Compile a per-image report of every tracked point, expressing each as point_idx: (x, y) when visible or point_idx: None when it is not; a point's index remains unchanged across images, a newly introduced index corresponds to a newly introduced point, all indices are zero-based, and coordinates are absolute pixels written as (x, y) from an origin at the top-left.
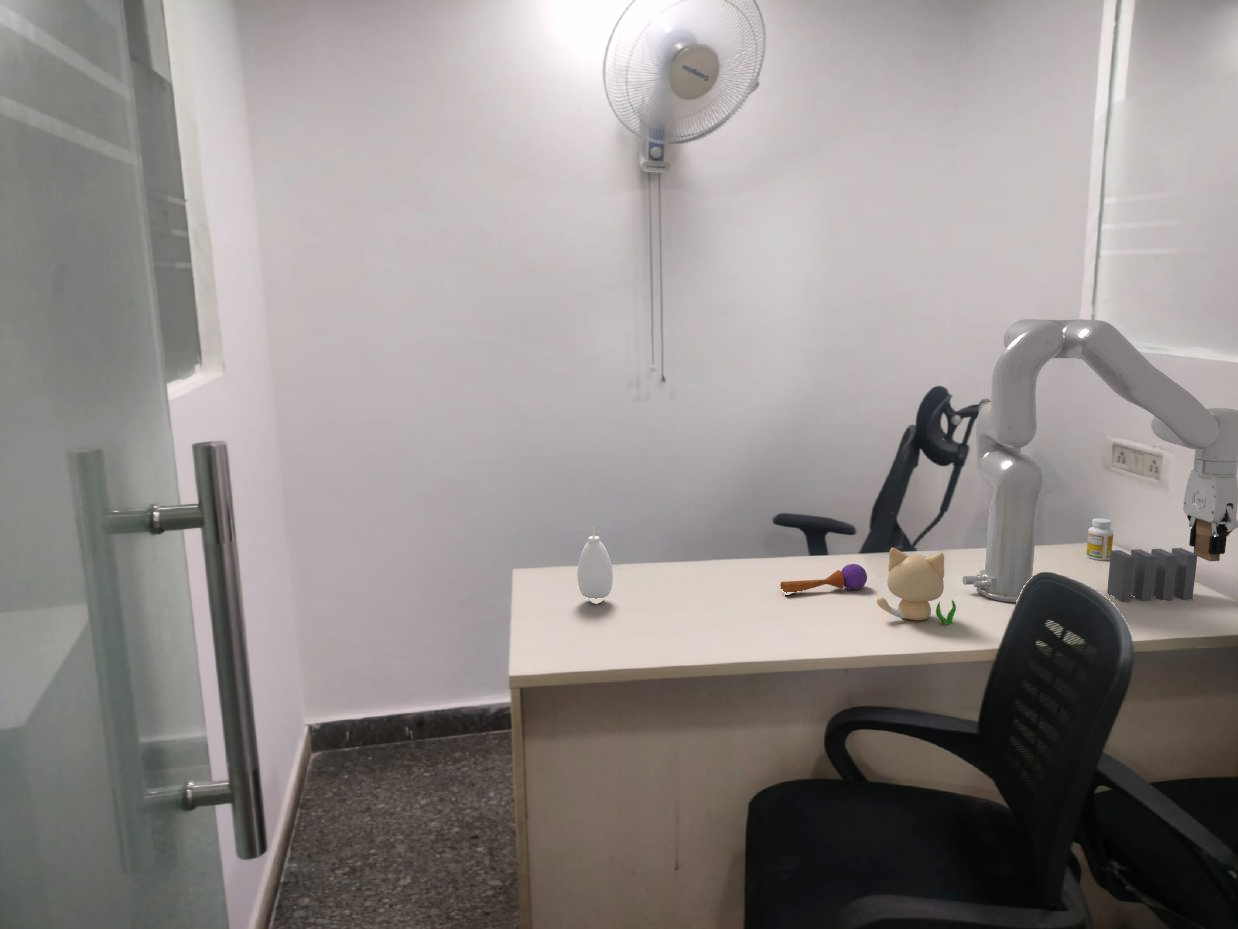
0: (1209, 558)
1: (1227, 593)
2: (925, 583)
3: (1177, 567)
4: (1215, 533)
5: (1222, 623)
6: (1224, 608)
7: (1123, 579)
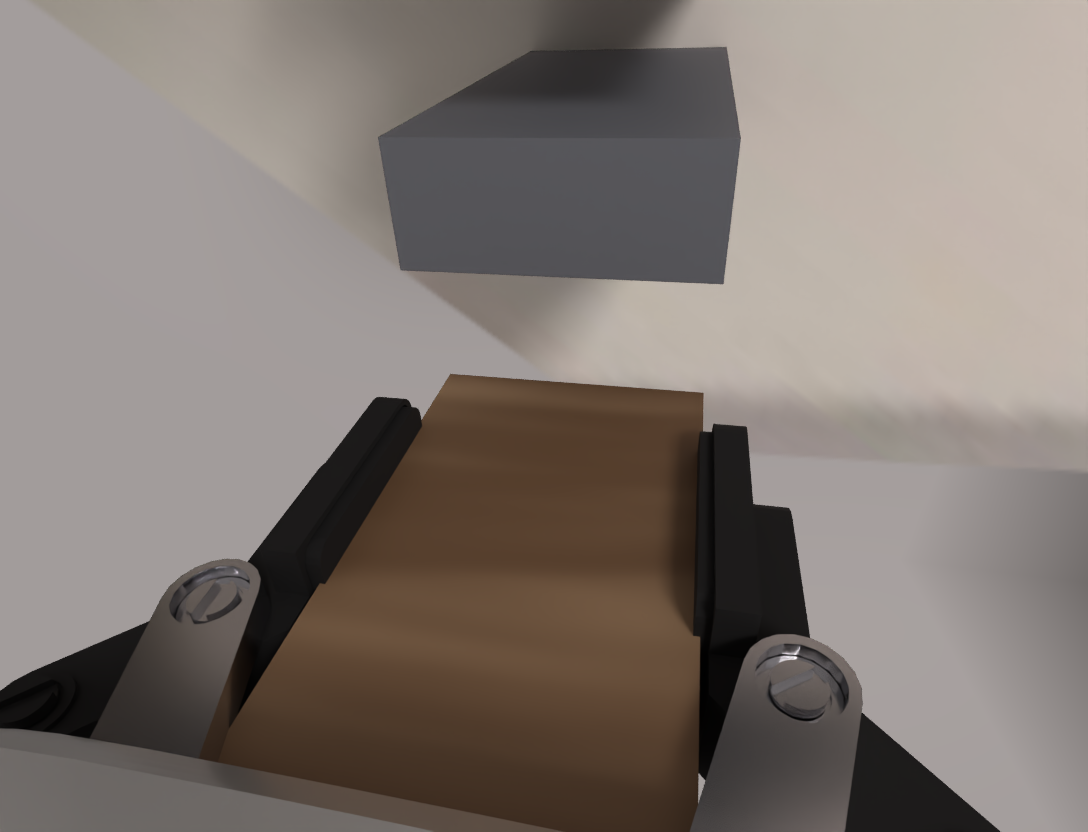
0: (449, 388)
1: None
2: None
3: (604, 93)
4: (190, 606)
5: (89, 9)
6: (371, 226)
7: None
